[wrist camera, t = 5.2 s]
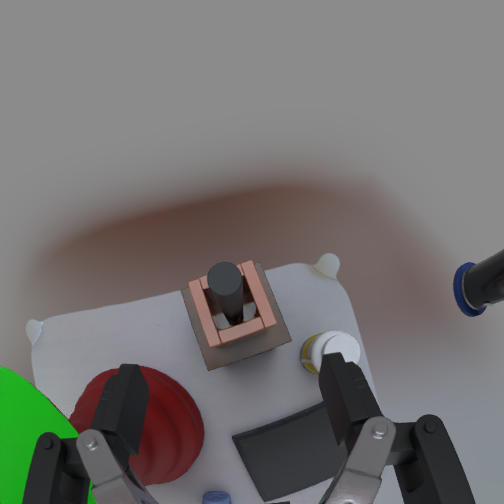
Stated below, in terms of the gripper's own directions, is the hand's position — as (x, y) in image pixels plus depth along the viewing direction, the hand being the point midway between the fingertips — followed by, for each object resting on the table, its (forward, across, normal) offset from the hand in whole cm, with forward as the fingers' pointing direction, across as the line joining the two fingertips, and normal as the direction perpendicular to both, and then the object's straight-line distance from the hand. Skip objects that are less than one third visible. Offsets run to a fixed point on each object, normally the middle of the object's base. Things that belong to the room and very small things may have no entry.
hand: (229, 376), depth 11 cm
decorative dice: (+3, +6, +39) cm, 40 cm away
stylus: (+14, 0, +8) cm, 16 cm away
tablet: (+9, -8, +33) cm, 35 cm away
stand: (+24, 0, +18) cm, 30 cm away
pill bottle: (+21, -12, +22) cm, 32 cm away
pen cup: (+15, 0, +8) cm, 17 cm away
